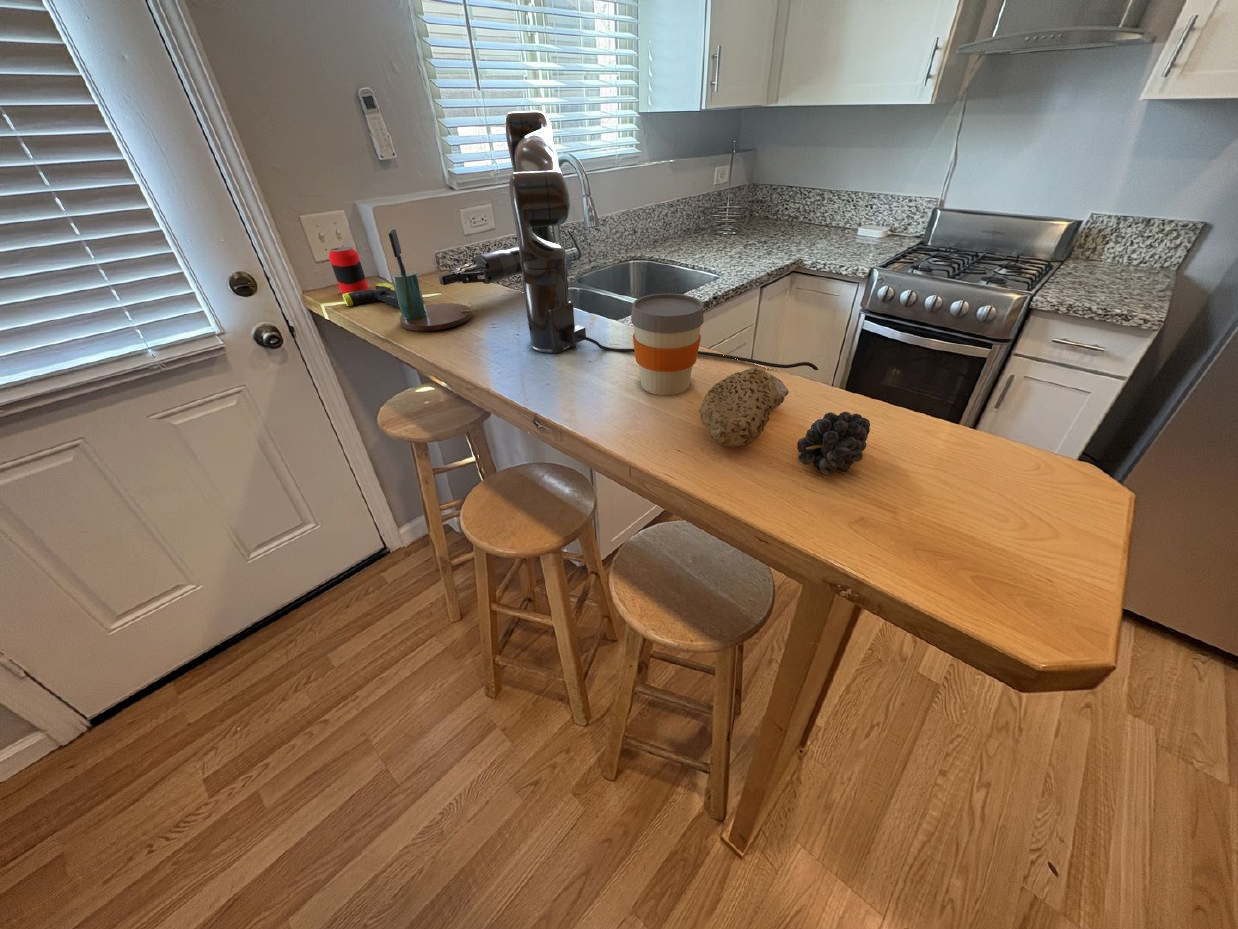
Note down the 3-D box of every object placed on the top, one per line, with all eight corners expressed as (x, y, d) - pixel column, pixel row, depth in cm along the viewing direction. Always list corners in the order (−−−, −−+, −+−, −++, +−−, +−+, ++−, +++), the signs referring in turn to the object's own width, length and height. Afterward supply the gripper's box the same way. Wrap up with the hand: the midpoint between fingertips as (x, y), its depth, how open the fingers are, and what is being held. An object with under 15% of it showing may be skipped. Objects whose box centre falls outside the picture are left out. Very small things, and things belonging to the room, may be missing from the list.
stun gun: (370, 306, 124) (422, 292, 134) (335, 293, 134) (386, 280, 144) (374, 318, 126) (425, 303, 135) (339, 303, 136) (389, 290, 145)
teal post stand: (472, 305, 131) (456, 221, 119) (469, 327, 117) (450, 234, 105) (406, 310, 128) (383, 225, 116) (395, 333, 115) (367, 240, 103)
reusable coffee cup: (675, 406, 85) (680, 321, 76) (618, 387, 91) (616, 307, 82) (710, 380, 93) (718, 300, 84) (655, 364, 99) (657, 289, 90)
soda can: (352, 288, 149) (338, 245, 142) (374, 288, 147) (361, 246, 140) (336, 295, 143) (320, 251, 136) (359, 296, 141) (344, 252, 134)
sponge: (733, 396, 90) (665, 416, 76) (750, 357, 85) (682, 371, 72) (793, 434, 83) (732, 463, 70) (815, 394, 79) (754, 417, 66)
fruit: (859, 379, 71) (808, 414, 63) (909, 413, 68) (862, 455, 60) (828, 421, 78) (777, 458, 69) (872, 454, 75) (825, 497, 66)
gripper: (478, 248, 136) (423, 261, 126) (508, 255, 129) (452, 269, 118) (483, 276, 140) (430, 291, 130) (513, 284, 133) (459, 300, 123)
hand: (441, 280), depth 124 cm, fingers closed
